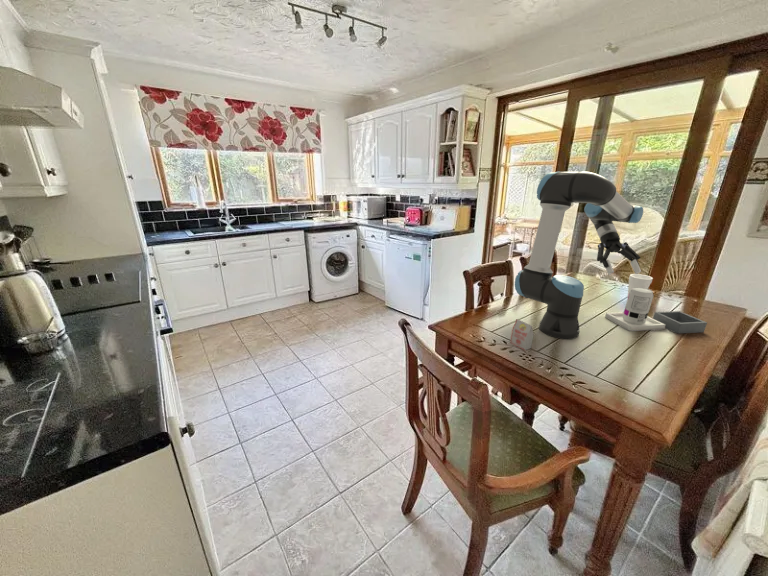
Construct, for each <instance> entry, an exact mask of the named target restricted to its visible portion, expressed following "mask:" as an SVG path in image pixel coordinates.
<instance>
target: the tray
mask: <svg viewBox="0 0 768 576" xmlns="http://www.w3.org/2000/svg"><path fill="white" fill-rule="evenodd" d="M623 314H624V311H623V312H622V311H621V312H619V311H618V312H606V313H605V316H604V318H605V317H606V318H605V319H608V320H609V321H611V322H613V323H615V324H616V325H618V326H620V327H622V328H623V329H624V330H627V331H629V332H635V331H636V332H637V331H658V330H659V331H660V330H665V324H663V323H661V322H659V321H657V320H655V319H653V317H650V316H649V315H648V316H647V319H646V322H645V323H644V324H642V325H636V324H631V323H628V322H626V321H624V319H623Z"/></svg>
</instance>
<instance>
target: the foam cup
mask: <svg viewBox="0 0 768 576" xmlns="http://www.w3.org/2000/svg"><path fill="white" fill-rule="evenodd" d="M653 279H654V278H653V277H652V276H649V275H645V274H641V273H638V274H635V273H630V275H629V278H628V288H627V289H628V290H627V298H626V299H628V295H629V292H630V290H631V289H632V288H634V287H639V288H646V289H649V287H650V285H651V284H652V282H653Z"/></svg>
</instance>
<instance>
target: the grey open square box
mask: <svg viewBox="0 0 768 576" xmlns="http://www.w3.org/2000/svg"><path fill="white" fill-rule="evenodd" d="M652 316H653V317H652V318H653V319H655V320H657V321H659V322H661V323H663V324H665V328H666V329H667V330H669V331H671V332H673V333H676V334H694V333H698V334H699V333H705V329H706V327H707V325H708V322H707V321H704V320H701V319H700V318H697V317H695V316H692V315H690V314H687V313H685V312H682V311H680V310H671V311H670V310H669V311H655V312H654V314H653V315H652ZM665 328H664V329H665Z"/></svg>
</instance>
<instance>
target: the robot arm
mask: <svg viewBox="0 0 768 576" xmlns="http://www.w3.org/2000/svg"><path fill="white" fill-rule="evenodd" d="M536 188H537V189H536V198H537V200H538V201H540V202H539V205H540V207H541V208H542V210H541V213H540V218H539V222H538V225H537V230H536V233H535V238H534V241H533V245H532V250H531V253H530V258H529V262H528V264H526V265H525V266H524V267H523V269H522V270H520V271H518V273H517V275H516V276H515V280H514V289H515V291H516V293H517V294H518V295H519V296H522V297H524V298H525V299H530V300H533V301H536V302H540V303H542V304H546V305H547V307H546V312H545V313H544V315H543V316H542V318H541V320H540V321H539V325H538V329H539V330H540V331H541V332H542V333H543V334H545V335H547V336H550V337H553V338H556V339H561V340H573V339H576V338H578V337H579V336H580V331H581V330H580V323H579V319H578V318H579V313H580V309H581V305H582V302H583V301H582V300H583V296H584V290H585V285H584V283H582V281H581V280H579V279H578V278H576V277H573V276H569V275H563V274H555V275H553V273H554V271H553V270H552V269H551V266H552V262H553V258H554V254H555V249H556V246H557V243H558V239H559V236H560V233H561V228H562V224H563V221H564V218H565V217H564V216H565V213H566V211H568V210H569V209H570V208H571V206H572V204H573V203H575V204H576V203H577V204H581V203H582V204H585V206H584V209H583V211H584V213H585V215H586V217H587V218H588V219H589V220H590V221H591V222H592V225H593V226H594V229H595V231H596V233H597V235H598V238H599V241H600V243H598V245H597V254H596V255H597V256H596V261H597V262H599V263H600V264H602V265H603V268H605V270H606V272H607V273H606V274H608V276H609V275H612V274H614V273H615V271H614V268H613V266H612V263H611V261H610V259H609V257H610V254H611V253H618V254H620V255H622V256H623V257H624V258H626V259H627V260H629V261H630V262H629V263H630V266H631V268H632V270H633V272H634V274H641V272H642V270H641V267H640V263H639V259H641V256H640V255H639V254H638V253H637V252H636V251H635V250H634V249H633V248H632V247H630V245H629V243H628V242H625V241H624V243H622V242H620V241H621V238H620V235H619V233H618V231H617V228H616V226H615V224H614V223H613V222H617V223H619V222H620V223H628V224H637V223H639V222H640V221H641V220H642V218H643V214H644V207H643V206H642V205H636V204H635V205H632V204H631V203H630V202H628V201H627V200H626V198H624V197H623V196H622V195H621V194H620V193H619V192H618V191H617V188H616V185H615V184H614V183H613V182H612V181H610V179H608V178H606V177H604V176H603V175H600V174H598V173H594V172H590V171H556V172H555V171H554V172H548V173H547V174H545V175H544V176H543V177H542V178H541V180H540V181H539V183H538V185H537V187H536Z"/></svg>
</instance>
